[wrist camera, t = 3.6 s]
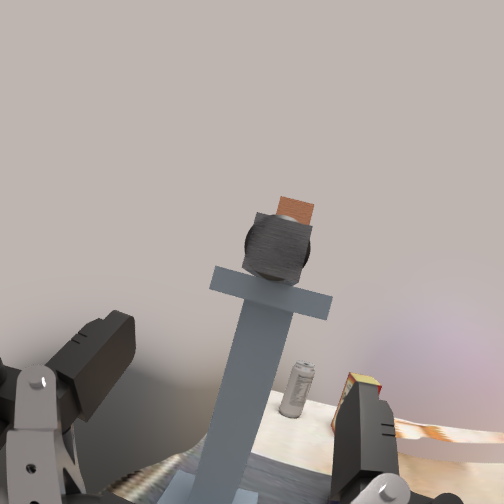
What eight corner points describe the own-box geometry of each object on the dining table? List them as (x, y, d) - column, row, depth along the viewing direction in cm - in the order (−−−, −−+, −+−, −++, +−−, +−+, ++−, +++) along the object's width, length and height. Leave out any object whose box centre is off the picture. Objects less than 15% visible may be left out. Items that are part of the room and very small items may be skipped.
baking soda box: (330, 424, 76) (349, 370, 77) (353, 428, 75) (372, 375, 76) (335, 439, 66) (357, 379, 68) (360, 443, 66) (382, 384, 67)
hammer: (259, 282, 40) (280, 202, 41) (291, 290, 39) (311, 210, 40) (231, 268, 17) (279, 101, 18) (306, 288, 16) (345, 116, 17)
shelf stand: (179, 472, 40) (232, 273, 43) (255, 495, 39) (320, 297, 42) (142, 532, 24) (204, 262, 27) (244, 563, 23) (344, 299, 26)
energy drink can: (294, 410, 82) (310, 361, 84) (303, 419, 77) (320, 368, 78) (275, 408, 81) (291, 358, 82) (283, 417, 75) (300, 365, 76)
